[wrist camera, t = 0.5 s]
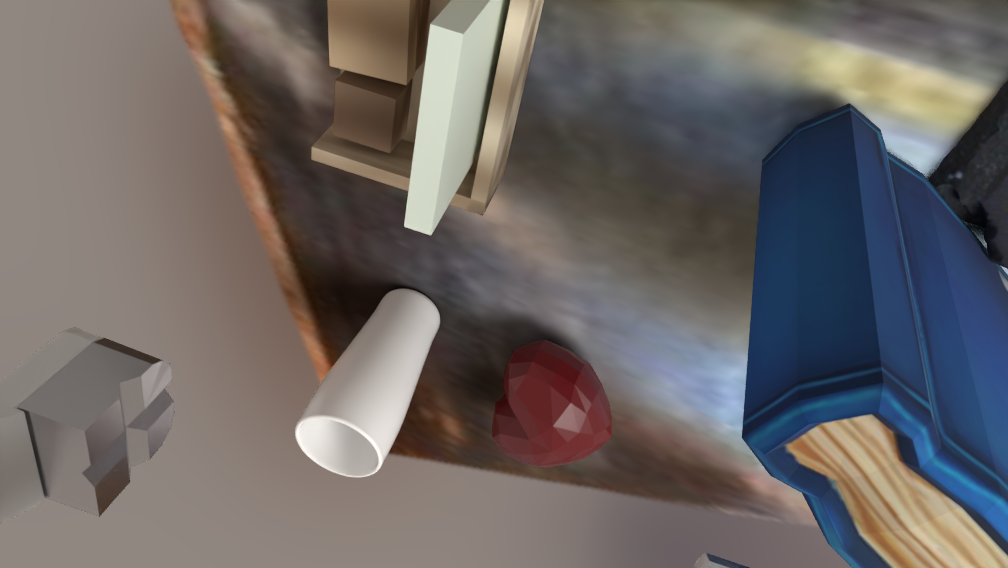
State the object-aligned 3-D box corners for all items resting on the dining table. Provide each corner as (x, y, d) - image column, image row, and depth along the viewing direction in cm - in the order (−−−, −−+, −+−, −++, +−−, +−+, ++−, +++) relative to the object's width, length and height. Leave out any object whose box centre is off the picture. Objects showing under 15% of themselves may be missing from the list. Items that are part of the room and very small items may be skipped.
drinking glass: (460, 339, 65) (395, 482, 54) (390, 339, 68) (314, 475, 57) (437, 277, 62) (363, 417, 50) (364, 279, 64) (277, 413, 53)
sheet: (496, -50, 43) (430, 23, 35) (523, -42, 43) (463, 34, 35) (463, 132, 51) (403, 226, 43) (486, 139, 51) (430, 235, 43)
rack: (359, -157, 42) (317, -137, 38) (566, -96, 41) (544, -69, 38) (344, 122, 54) (311, 159, 51) (504, 174, 54) (482, 215, 50)
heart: (646, 357, 60) (531, 307, 62) (617, 429, 54) (492, 372, 56) (607, 443, 68) (506, 397, 70) (578, 513, 63) (470, 461, 65)
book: (740, 143, 47) (716, 465, 29) (845, 72, 43) (894, 398, 25) (934, 356, 54) (1016, 733, 35) (1043, 313, 49) (1202, 717, 31)
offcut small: (355, 60, 50) (335, 80, 47) (412, 78, 49) (395, 99, 47) (351, 113, 52) (332, 134, 50) (406, 131, 52) (390, 153, 50)
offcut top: (336, -78, 43) (324, -71, 42) (421, -59, 42) (411, -51, 41) (339, 56, 48) (329, 66, 47) (415, 74, 47) (406, 85, 46)
